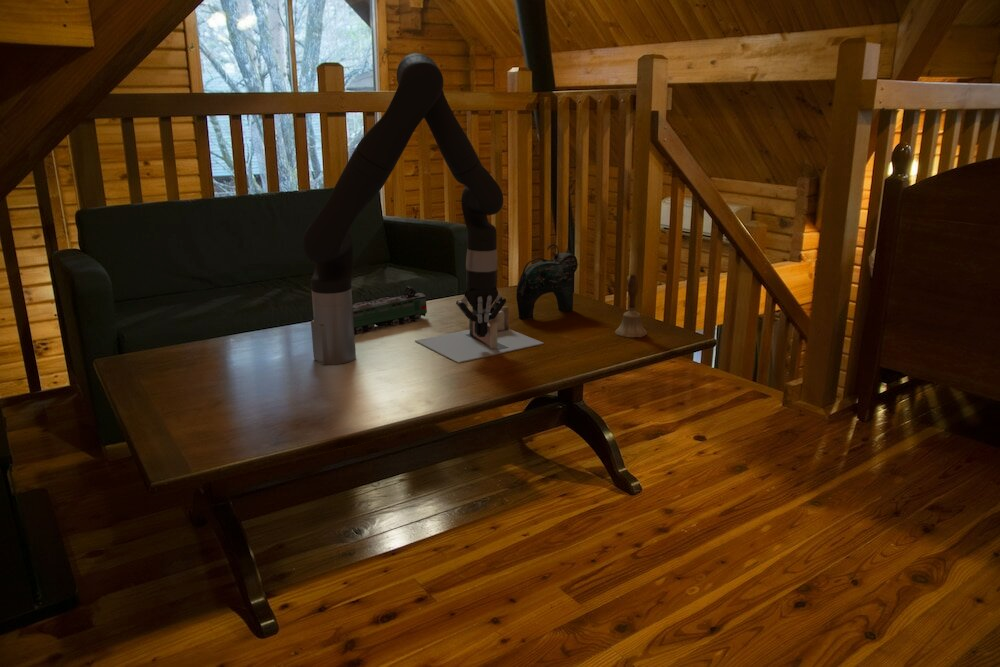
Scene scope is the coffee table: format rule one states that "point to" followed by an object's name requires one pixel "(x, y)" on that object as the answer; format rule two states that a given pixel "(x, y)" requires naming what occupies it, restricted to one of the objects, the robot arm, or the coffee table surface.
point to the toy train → (389, 310)
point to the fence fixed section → (496, 320)
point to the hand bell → (631, 314)
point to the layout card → (476, 345)
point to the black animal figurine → (547, 282)
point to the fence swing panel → (488, 335)
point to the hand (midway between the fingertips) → (481, 336)
